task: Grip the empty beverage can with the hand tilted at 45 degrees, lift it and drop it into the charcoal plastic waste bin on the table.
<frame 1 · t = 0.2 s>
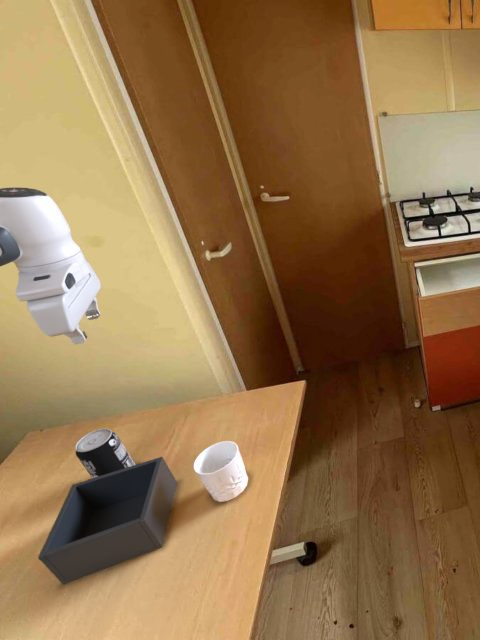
hand: (88, 329, 87), 34 cm above the table, tool pointing down, fingers open, 8 cm apart
beverage can: (118, 476, 94), on the table
bin: (126, 528, 84), on the table
white cup: (231, 487, 92), on the table
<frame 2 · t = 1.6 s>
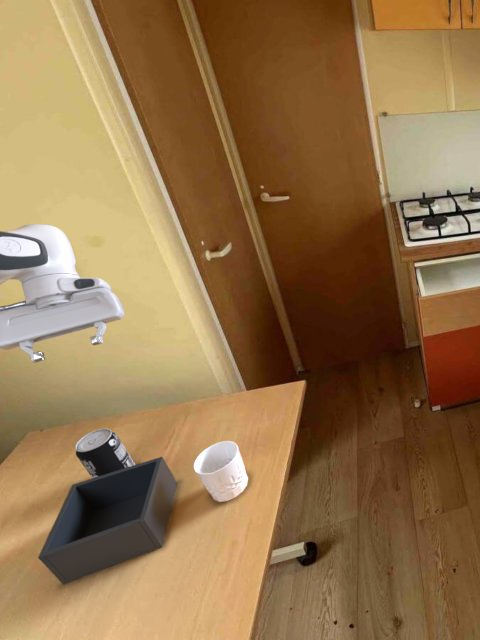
hand: (69, 352, 90), 27 cm above the table, tool tilted 45°, fingers open, 8 cm apart
nothing on the table moved.
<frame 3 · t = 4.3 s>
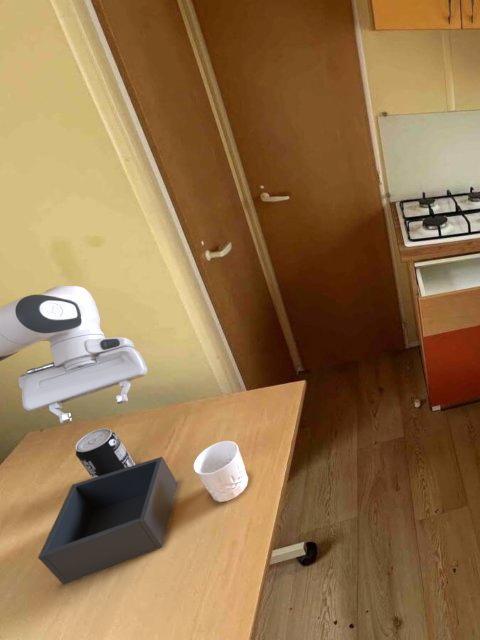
hand: (95, 412, 94), 13 cm above the table, tool tilted 45°, fingers open, 8 cm apart
nothing on the table moved.
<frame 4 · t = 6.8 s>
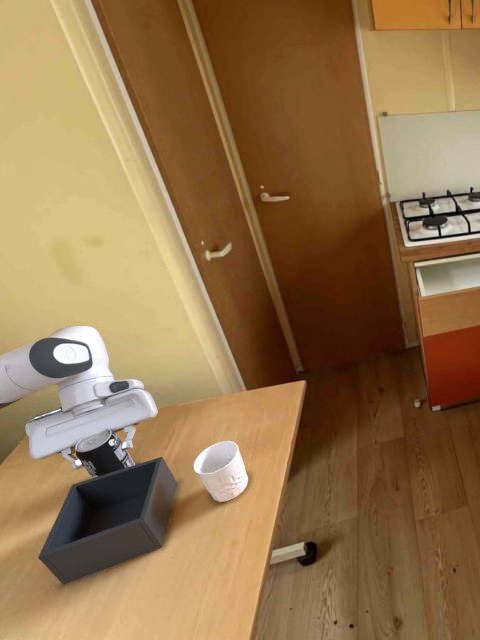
hand: (104, 458, 91), 7 cm above the table, tool tilted 45°, fingers closed on beverage can, 6 cm apart
beverage can: (118, 476, 94), on the table, touching gripper
everything else where it was.
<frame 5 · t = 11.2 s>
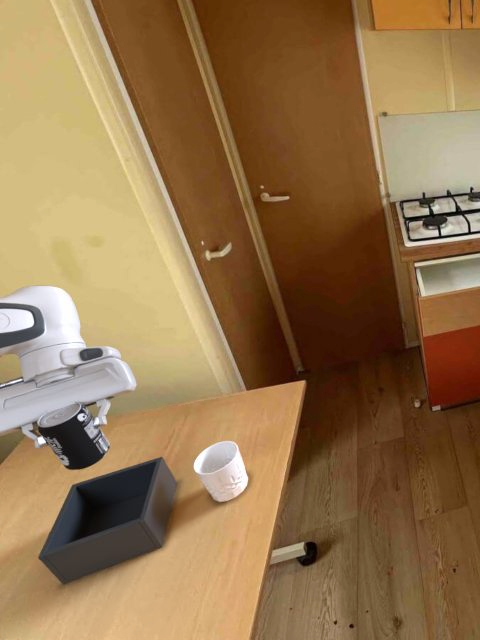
hand: (73, 436, 78), 21 cm above the table, tool tilted 45°, fingers closed on beverage can, 6 cm apart
beverage can: (90, 457, 82), point 14 cm above the table, touching gripper
everything else where it was.
when the fingers open (7 cm above the table, at t = 15.9 s): beverage can stays where it is, resting on bin.
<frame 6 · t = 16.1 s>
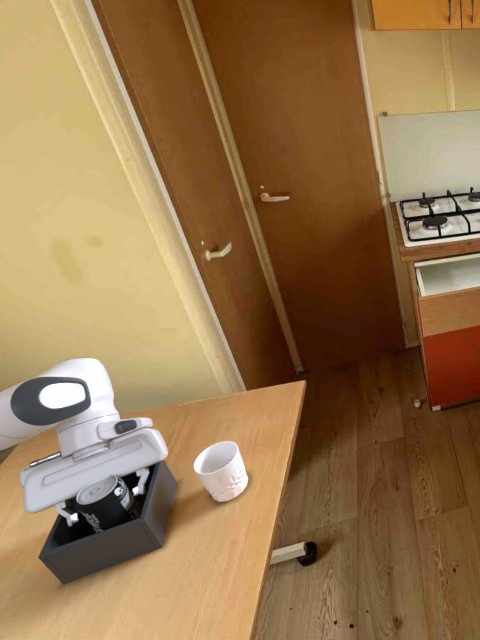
hand: (109, 509, 80), 7 cm above the table, tool tilted 45°, fingers open, 8 cm apart
beverage can: (124, 526, 84), point 1 cm above the table, touching bin
everything else where it was.
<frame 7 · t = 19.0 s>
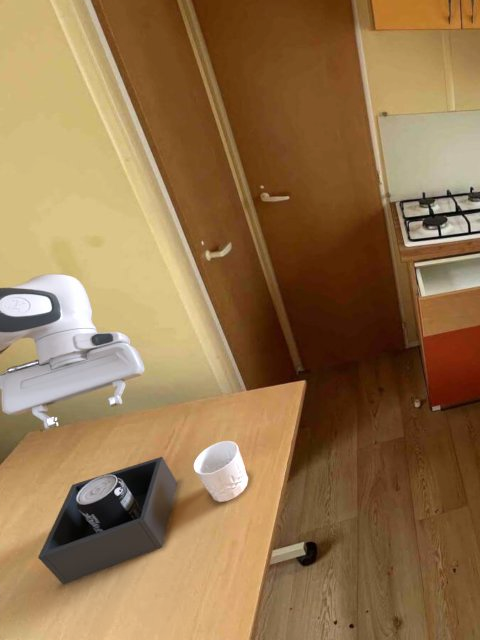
hand: (85, 416, 83), 21 cm above the table, tool tilted 45°, fingers open, 8 cm apart
nothing on the table moved.
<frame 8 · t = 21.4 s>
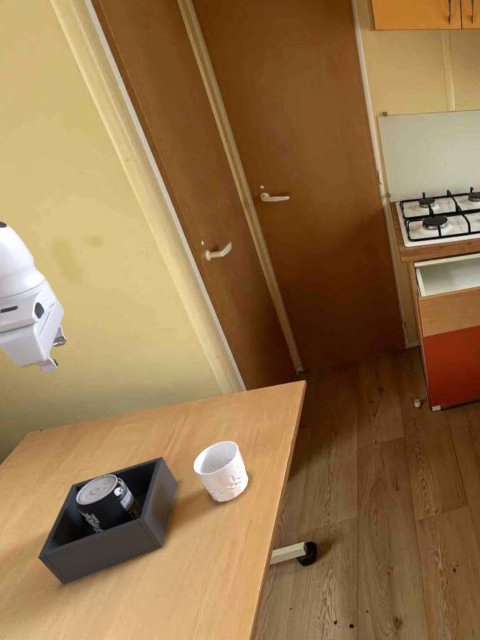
hand: (56, 356, 86), 29 cm above the table, tool pointing down, fingers open, 8 cm apart
nothing on the table moved.
at the end: beverage can inside the target area in the bin (0.0 cm from its centre), point 0.6 cm above the bin's base; the gripper is holding nothing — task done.
